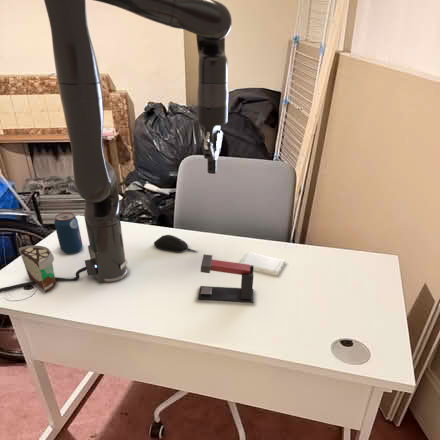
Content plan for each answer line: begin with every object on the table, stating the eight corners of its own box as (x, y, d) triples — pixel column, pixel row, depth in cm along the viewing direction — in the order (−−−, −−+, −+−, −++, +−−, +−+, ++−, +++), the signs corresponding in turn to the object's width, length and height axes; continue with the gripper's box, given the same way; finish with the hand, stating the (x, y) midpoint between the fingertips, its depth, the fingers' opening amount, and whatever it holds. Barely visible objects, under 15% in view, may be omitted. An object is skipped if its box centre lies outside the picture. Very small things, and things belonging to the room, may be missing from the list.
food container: (68, 286, 112) (60, 255, 107) (47, 294, 109) (39, 263, 103) (47, 270, 119) (39, 240, 114) (27, 277, 115) (17, 247, 110)
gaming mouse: (191, 256, 128) (191, 245, 126) (150, 248, 132) (149, 237, 130) (199, 247, 133) (199, 237, 130) (159, 240, 137) (158, 229, 134)
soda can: (87, 249, 130) (80, 215, 123) (68, 257, 126) (60, 222, 119) (75, 243, 134) (68, 209, 127) (57, 250, 129) (48, 216, 123)
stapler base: (197, 301, 107) (197, 273, 102) (200, 289, 112) (200, 261, 107) (253, 304, 107) (255, 276, 101) (253, 292, 111) (255, 264, 106)
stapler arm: (200, 272, 102) (201, 265, 101) (202, 260, 107) (203, 254, 106) (249, 279, 102) (250, 272, 101) (249, 267, 107) (250, 260, 106)
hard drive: (239, 263, 122) (277, 271, 118) (248, 251, 128) (285, 259, 124) (238, 267, 123) (277, 276, 119) (247, 255, 129) (284, 264, 125)
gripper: (205, 97, 103) (206, 164, 113) (189, 106, 93) (191, 179, 102) (233, 99, 102) (231, 167, 111) (220, 108, 91) (219, 182, 101)
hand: (212, 172), depth 107 cm, fingers closed
